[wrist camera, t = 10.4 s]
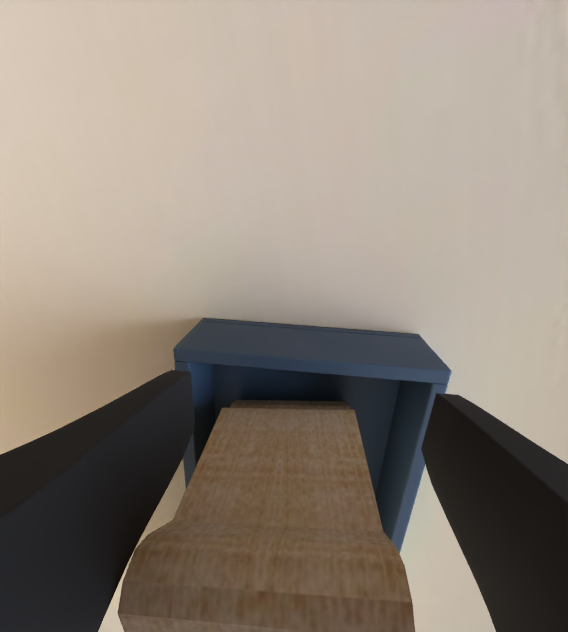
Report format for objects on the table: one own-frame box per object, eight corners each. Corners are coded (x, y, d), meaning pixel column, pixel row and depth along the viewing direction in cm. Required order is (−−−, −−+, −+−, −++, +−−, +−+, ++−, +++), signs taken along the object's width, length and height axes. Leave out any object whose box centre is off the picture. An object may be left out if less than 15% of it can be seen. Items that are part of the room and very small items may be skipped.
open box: (361, 585, 21) (371, 655, 17) (215, 566, 21) (198, 631, 18) (418, 333, 14) (452, 371, 11) (203, 317, 15) (172, 348, 11)
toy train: (259, 570, 20) (217, 878, 11) (235, 354, 15) (103, 610, 5) (339, 575, 20) (366, 902, 10) (346, 353, 14) (423, 636, 5)
